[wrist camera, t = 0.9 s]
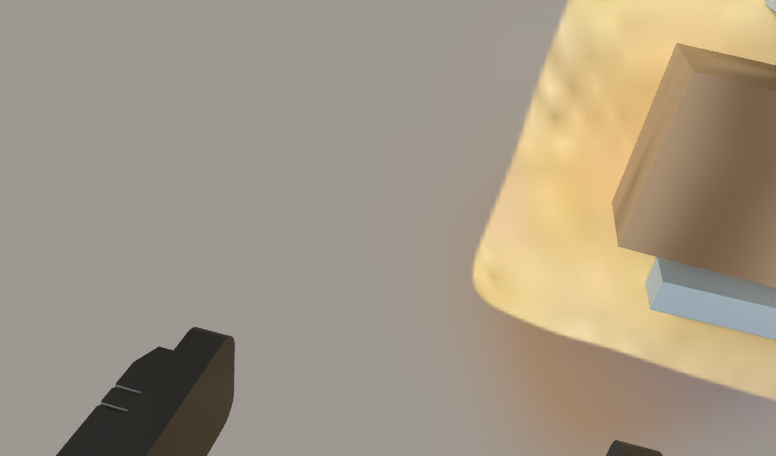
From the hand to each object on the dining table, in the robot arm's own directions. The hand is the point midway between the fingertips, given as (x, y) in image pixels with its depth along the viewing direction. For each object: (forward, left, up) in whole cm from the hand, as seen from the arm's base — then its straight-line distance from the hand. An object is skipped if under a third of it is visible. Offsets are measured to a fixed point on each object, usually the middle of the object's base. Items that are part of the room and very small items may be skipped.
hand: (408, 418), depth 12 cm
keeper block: (-9, 0, -18) cm, 20 cm away
